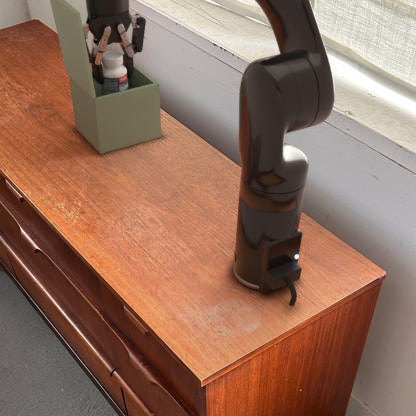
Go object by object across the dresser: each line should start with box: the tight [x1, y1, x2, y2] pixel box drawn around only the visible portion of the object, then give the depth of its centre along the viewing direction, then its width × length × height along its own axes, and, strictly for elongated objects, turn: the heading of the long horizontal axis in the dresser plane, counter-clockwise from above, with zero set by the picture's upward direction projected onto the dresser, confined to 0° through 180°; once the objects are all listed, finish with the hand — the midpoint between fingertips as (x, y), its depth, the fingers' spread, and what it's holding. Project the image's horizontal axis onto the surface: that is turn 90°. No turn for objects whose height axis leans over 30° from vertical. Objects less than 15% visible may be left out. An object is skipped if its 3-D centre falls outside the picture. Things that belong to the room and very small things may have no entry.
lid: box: [49, 0, 96, 98], centre depth 112 cm, size 14×12×1 cm
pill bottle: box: [101, 50, 128, 96], centre depth 120 cm, size 5×5×9 cm
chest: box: [68, 63, 162, 155], centre depth 124 cm, size 14×12×11 cm
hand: (114, 79), depth 120 cm, fingers closed on pill bottle, 5 cm apart
